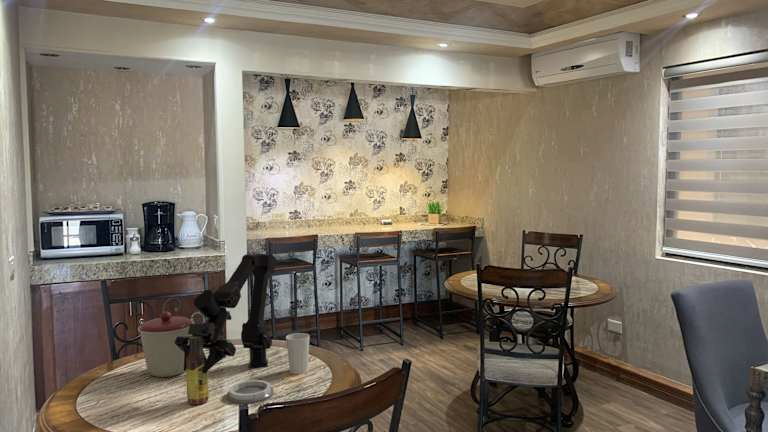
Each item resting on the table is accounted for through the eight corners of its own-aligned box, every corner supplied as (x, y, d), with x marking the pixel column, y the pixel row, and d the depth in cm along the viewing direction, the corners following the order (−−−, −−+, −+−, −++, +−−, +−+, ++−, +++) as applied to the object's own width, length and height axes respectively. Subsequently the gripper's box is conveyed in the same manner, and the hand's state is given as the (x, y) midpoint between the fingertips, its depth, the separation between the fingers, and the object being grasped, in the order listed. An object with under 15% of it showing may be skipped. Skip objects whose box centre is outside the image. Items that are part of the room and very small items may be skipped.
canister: (128, 378, 199) (124, 316, 198) (167, 361, 216) (163, 304, 214) (171, 384, 193) (167, 320, 191) (207, 366, 209) (204, 307, 208)
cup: (288, 367, 206) (286, 333, 205) (311, 366, 207) (310, 332, 206) (286, 375, 198) (284, 340, 197) (310, 374, 199) (309, 339, 198)
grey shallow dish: (229, 388, 188) (228, 381, 188) (274, 384, 190) (273, 377, 190) (224, 405, 174) (224, 398, 174) (273, 401, 176) (272, 394, 176)
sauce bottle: (202, 406, 174) (199, 340, 172) (183, 405, 175) (179, 339, 174) (213, 397, 181) (210, 333, 179) (194, 396, 182) (191, 333, 180)
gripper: (176, 310, 182) (153, 356, 173) (228, 313, 176) (208, 362, 167) (193, 328, 191) (173, 373, 181) (244, 332, 184) (225, 379, 175)
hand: (193, 371), depth 176 cm, fingers closed on sauce bottle, 6 cm apart
